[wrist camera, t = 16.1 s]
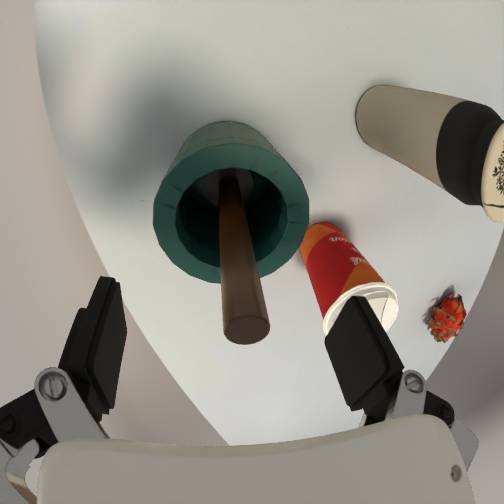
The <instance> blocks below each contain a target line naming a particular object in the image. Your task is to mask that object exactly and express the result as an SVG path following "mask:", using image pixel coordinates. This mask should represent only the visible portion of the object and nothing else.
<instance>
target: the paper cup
mask: <svg viewBox="0 0 504 504" xmlns="http://www.w3.org/2000/svg"><path fill="white" fill-rule="evenodd" d="M300 250H301V253H302V257H303V260H304V263H305V266H306V269H307V271H308V274H309V277H310V280H311V283H312V286H313V289H314V292H315V295H316V298H317V301H318V304H319V307H320V310H321V313H322V317H323V330H324V333H325V334H326V336H327V334H328V332H329V331H330V329H331V327H332V326H333V324H334V322H335V320H336V319H337V317H338V315H339V313H340V312H341V310H342V308H343V306H344V304H345V303H346V301H347V300H348V299H350V297H351V296H364V297H366V299H367V300H368V302H369V304H370V306H371V307H372V309H373V311H374V312H375V314H376V316H377V318H378V319H379V321H380V323H381V325H382V326H383V328H384V330H385V332H386V331H387V330H388V329H389V328H390V327H391V326H392V324H393V323H394V321H395V319H396V317H397V315H398V302H397V294H396V291H395V289H394V288H393V287H392V286H391V285H389V284H387V283H385V282H384V281H383V279H382V278H381V277H380V276H379V275H378V273H377V272H376V271H375V270H374V268H373V267H372V266H371V265H370V264H369V262H368V261H367V260H366V259H365V258H364V257H363V255H362V254H361V253H360V252H359V251H358V250H357V248H356V247H355V246H354V245H353V244H352V243H351V242H350V240H349V239H348V238H347V237H346V236H345V235H344V234H343V233H342V232H341V231H340V230H339V229H338V228H337V227H336V226H335V225H333V224H331V223H328V222H321V223H317V224H314V225H312V226H311V227H309V228H308V229H307V230H306V233H305V236H304V239H303V242H302V244H301V245H300Z"/></svg>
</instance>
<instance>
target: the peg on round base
mask: <svg viewBox="0 0 504 504" xmlns="http://www.w3.org/2000/svg"><path fill="white" fill-rule="evenodd" d="M203 190H204V194H205V196H206V198H207V199H208V200H209V201H210V202H211V203H212V204H213V205H215V206H217V207H219V243H220V270H221V293H222V312H223V330H224V335H225V336H226V338H227V339H228V340H229V341H231V342H233V343H236V344H242V345H247V344H253V343H256V342H259V341H261V340H262V339H264V338H265V337H266V336H267V335H268V333H269V331H270V323H269V318H268V314H267V309H266V305H265V300H264V295H263V291H262V286H261V282H260V277H259V273H258V268H257V263H256V259H255V254H254V250H253V245H252V241H251V236H250V232H249V227H248V223H247V218H246V213H245V209H244V203H246V202H247V201H248V200H249V198H250V197H251V195H252V193H253V190H254V179H253V176H252V174H251V171H250V170H247V169H241V168H234V167H232V168H225V169H219V170H214V171H212V172H210V173H208V174H206V175H204V181H203Z"/></svg>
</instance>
